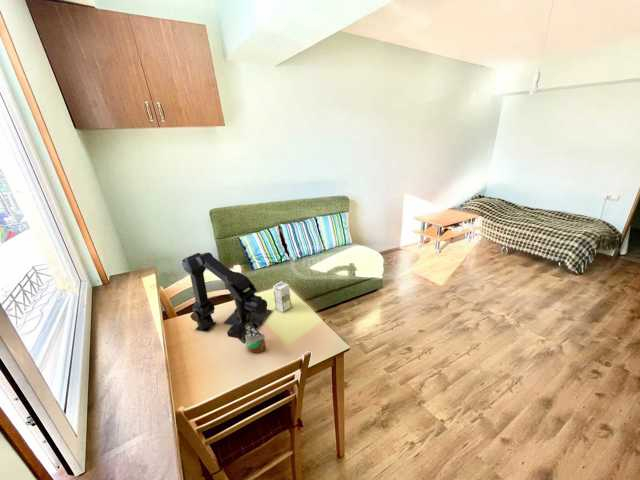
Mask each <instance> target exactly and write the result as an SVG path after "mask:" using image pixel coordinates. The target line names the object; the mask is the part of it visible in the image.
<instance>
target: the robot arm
mask: <svg viewBox="0 0 640 480" xmlns="http://www.w3.org/2000/svg"><path fill="white" fill-rule="evenodd" d="M181 265H182V267H183V269H184V271H185V272H186V273H188V275H189V276H190V281H191V286H192V290H193V295H194V303H193V305H192V313H191V314H190V316H189V317H190V318H191V320H192V321H193V322H195V323H196V324H197V327H196V328H195V330H196V331H201V332H207V333H208V332H210V330H211V329H213V327H214V326H215V325H216V324H217V322H216V321H214V319H213V316H212V314H213V315H214V313H215V310H216V308H215V303H214V302H212V301H211V300H209V297H208V292H207V286H206V280H205V275H204V273H205V271H206V269H207V270H208V271H209V272H210V273H212V274H213V275H214V276H216V277H217V278H218V279H219V280H221V282H223V283H224V285H225V288H226V289H227V290H228V292H229V295H230V296H232V297H233V299H234V304H235V309H234V310H233V312H236V313H238V317H237V318H236V319H237V321H240V322H241V323H240V324H239V325H231V326H230V327H229V329H228V330H227V331H226V335H227V337H228V338H234V339H237V340H239V341H240V342H241V343H242V344H243V345H246V339H245V335H246V334H247V332H246V331H247V330H246V328H245V327H246V326H247V324H248V323H249V324H250V323H251V322H252V324H253V326H254V328H256V329H257V328H258V326H260V327H261V326H263V325H264V323H265V322H266V321H267V318H268V317H269V315H268V310H269V309H268V301H267V300H266V299H264V298H263V296H261V295H256V294H255V293H257V292H258V290H257V288H256V286H255V284H254V283H253V282H252V281H251V280H250V278H249V277H248V276H247V275H245V274H243V273H242V272H240V271H239V272H238V271H233V270H231V269H230V268H229V267H228V266H226V265H225V264H223V263H222V262H221V261H219V260H218V259H217V258H216V257H214V255H213V254H212V253H211V252H204V253H200V252H196V253H194V254H191V255H189V256H186V257H184V258H183V259H182V261H181ZM267 316H268V317H267ZM266 317H267V318H266ZM258 329H259V328H258ZM258 329H257V330H258Z"/></svg>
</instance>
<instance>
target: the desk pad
mask: <svg viewBox="0 0 640 480" xmlns="http://www.w3.org/2000/svg"><path fill="white" fill-rule="evenodd" d="M267 310H268V316H267V317H266V319H267V318H268V317H269V315H270V314H271V313H272V310H271V309H267ZM237 317H238V313H236V312H235V311H233V312H232V313H231V314H230V316H228V318H227V319H226V320H225V321H224V322H223V323H224V325H225V324H226V325H231V326H233V325H239V324H240V323H241V322H240V321H237V319H236V318H237ZM250 324H251V325H252V326H253V324H252V322H251V323H250ZM253 327H254V326H253ZM260 327H261V326H258V328H257V330H258V329H259V328H260Z"/></svg>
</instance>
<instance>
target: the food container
mask: <svg viewBox="0 0 640 480" xmlns="http://www.w3.org/2000/svg"><path fill="white" fill-rule="evenodd" d="M245 328H246V330H247V331H246V332H247V334H246V335H245V339H246V343H245V345H246V346H247V348H248V351H249V352H250V353H251V354H262V353H264V352H267V350H266V341H265V338H266V337H265V334H264V333H261V332H260V331H259V330H258V329H256V328H254V327H253V326H252V325H251V324H249V323H248V324H247V326H246V327H245Z"/></svg>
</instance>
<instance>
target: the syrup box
mask: <svg viewBox="0 0 640 480" xmlns="http://www.w3.org/2000/svg"><path fill="white" fill-rule="evenodd" d="M272 290H273V296H274V304H275V309H276V310H278V311H280V312H281V313H284V312H286V311H288V310H289V309H291V308H292V301H291V291H290V285H289V284H288V283H287V282H284V281H279V282H278V283H276V284H274V285H272Z"/></svg>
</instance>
